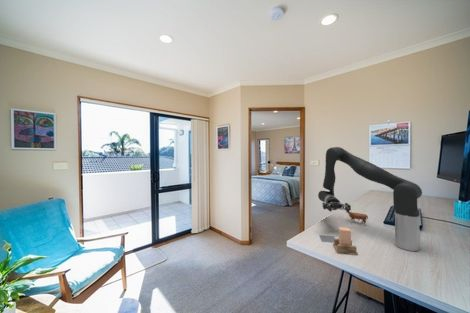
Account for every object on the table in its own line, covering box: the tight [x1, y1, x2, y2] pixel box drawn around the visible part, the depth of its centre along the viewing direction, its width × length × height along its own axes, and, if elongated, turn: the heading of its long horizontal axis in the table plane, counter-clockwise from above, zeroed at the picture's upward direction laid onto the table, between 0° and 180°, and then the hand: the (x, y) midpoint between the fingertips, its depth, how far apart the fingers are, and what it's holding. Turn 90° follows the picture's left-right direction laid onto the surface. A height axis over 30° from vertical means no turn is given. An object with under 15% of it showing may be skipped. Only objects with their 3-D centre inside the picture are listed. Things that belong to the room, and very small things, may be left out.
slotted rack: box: [332, 238, 359, 256], centre depth 95 cm, size 9×8×4 cm
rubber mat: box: [319, 234, 336, 244], centre depth 106 cm, size 8×8×1 cm
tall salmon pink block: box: [338, 226, 352, 245], centre depth 94 cm, size 4×4×10 cm
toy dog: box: [345, 209, 369, 226], centre depth 128 cm, size 4×13×8 cm, turn 38°
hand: (339, 210), depth 103 cm, fingers open, 8 cm apart
